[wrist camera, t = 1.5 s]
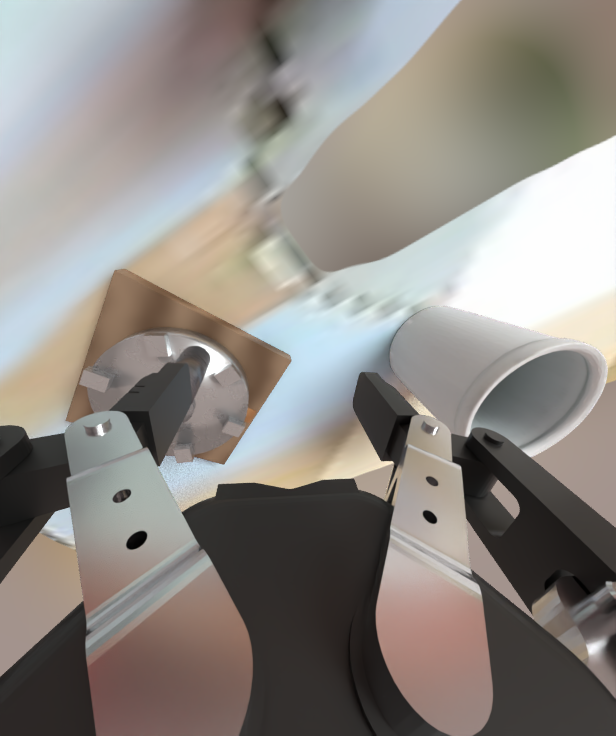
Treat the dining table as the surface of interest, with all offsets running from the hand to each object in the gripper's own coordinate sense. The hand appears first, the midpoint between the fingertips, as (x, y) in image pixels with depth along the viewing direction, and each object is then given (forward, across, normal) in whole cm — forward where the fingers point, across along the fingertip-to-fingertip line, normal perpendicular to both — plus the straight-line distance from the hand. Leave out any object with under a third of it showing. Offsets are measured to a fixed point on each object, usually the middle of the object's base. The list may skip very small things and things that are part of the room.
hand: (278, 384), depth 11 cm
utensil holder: (+23, -25, +5) cm, 35 cm away
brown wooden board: (+22, +12, +13) cm, 28 cm away
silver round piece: (+19, +12, +13) cm, 26 cm away
